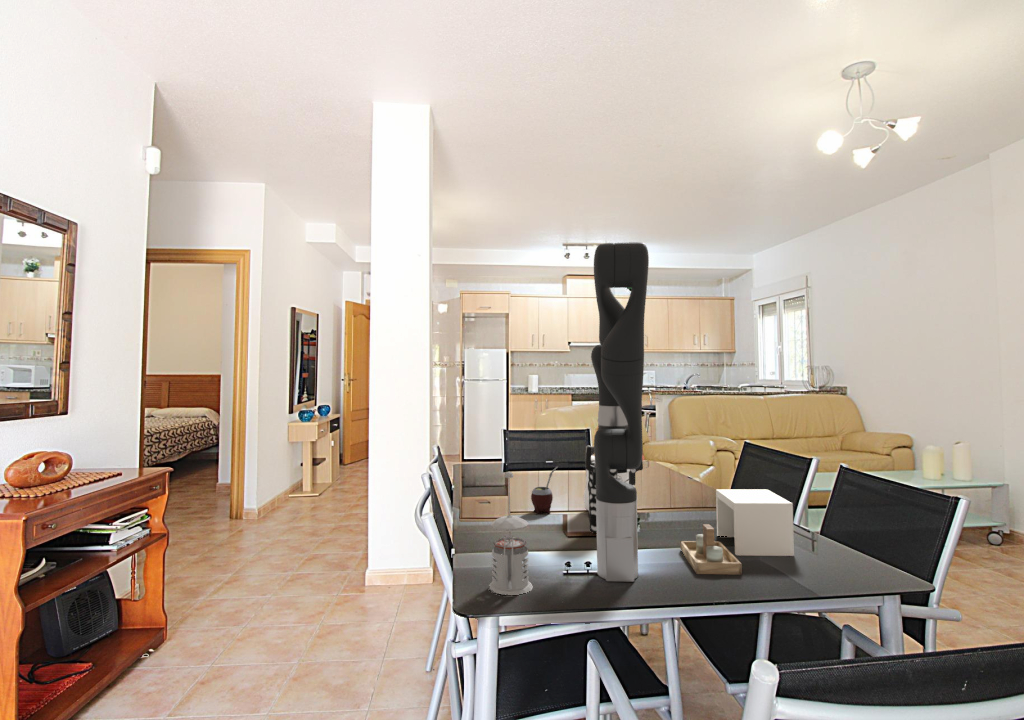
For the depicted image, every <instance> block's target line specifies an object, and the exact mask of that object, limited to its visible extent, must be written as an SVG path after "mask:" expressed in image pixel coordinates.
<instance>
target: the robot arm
mask: <svg viewBox="0 0 1024 720" xmlns="http://www.w3.org/2000/svg"><path fill="white" fill-rule="evenodd" d="M649 258H650V257H649V250H648V247H647V245H646V243H644V242H638V241H637V242H632V241H631V242H607V243H600V244H598V245H597V246H596V248H595V251H594V255H593V279H594V289H595V297H596V298H595V299H596V303H597V304H596V305H597V308H598V314H599V315H598V316H599V317H598V318H599V322H598V323H599V325H598V327H599V329H598V341H599V344H596V345H595V346H594V347H593V348H592V351H591V353H590V354H591V355H590V360H591V363H592V366H593V370H594V373H595V376H596V381H597V386H598V387H597V389H598V412H597V413H598V414H597V422H598V423H597V424H598V429H597V431H596V432H595V434H594V439H593V445H589V444H587V445H586V446H585V460H584V461H585V462H584V465H585V471H586V470H590V471H592V477H593V484H594V485H595V486H596V523H597V534H596V564H597V565H596V566H597V571H596V572H597V575H598V576H599V577H600V578H602V579H604V580H605V581H606V582H635V579H637V578H638V577H639V554H638V553H639V551H638V550H639V549H638V545H639V544H638V543H639V542H638V493H637V492H638V491H637V488H636V487H634V486H635V485H636V473H637V472H638V471H643V470H644V463H643V455H644V454H643V451H644V449H643V446H644V443H643V418H642V417H643V414H642V413H643V412H642V411H643V409H642V408H643V407H642V404H643V403H642V400H643V399H642V398H643V387H644V386H643V385H644V371H645V368H644V366H645V312H646V301H647V288H648V276H649V266H650V265H649V263H650V262H649ZM613 288H614V289H617V288H620V289H621V288H622V289H625V288H626V289H627V288H630V290H631V291H630V294H629V297H628V301H627V303H626V305H625V307H624V306H623V304H622V303H621V302H620V301H619V300H618V299H617V297H616V296H615V295H614V294H613V292H612V290H611V289H613ZM591 456H595V465H594V466H592V465H591ZM610 469H630V471H629V484H628V483H625V482H622V481H620V480H618V479H616V478H614V477H613V476H612V475H611V474H610V473H609V470H610ZM633 485H634V486H633Z"/></svg>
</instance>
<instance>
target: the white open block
mask: <svg viewBox="0 0 1024 720" xmlns="http://www.w3.org/2000/svg"><path fill="white" fill-rule="evenodd" d="M715 498H716V499H715V501H716V502H715V504H716V508H715V510H716V537H717V536H720V537H719V538H722V537H721V536H724V537H723V538H734V556H752V557H753V556H755V557H757V556H758V557H759V556H763V557H764V556H765V557H767V556H770V557H771V556H772V557H776V556H777V557H789V556H790V557H794V556H795V550H794V549H795V547H794V546H795V545H794V543H795V541H794V539H795V538H794V507H793V505H794V504H793V502H792V501H791V502H790V501H789V500H787V499H786V498H784V497H782V496H780V495H778V494H776V493H775V492H773V491H771V490H769V489H768V488H767V489H764V488H763V489H761V488H760V489H758V488H757V489H755V488H754V489H752V488H751V489H750V488H749V489H745V488H743V489H742V488H741V489H731V488H729V489H728V488H727V489H726V488H725V489H724V488H723V489H718V488H717V489H715ZM725 536H727V537H725Z"/></svg>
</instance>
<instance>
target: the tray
mask: <svg viewBox="0 0 1024 720" xmlns="http://www.w3.org/2000/svg"><path fill="white" fill-rule="evenodd" d="M679 543H680V545H679V546H680V548H679V549H681V550H682V552H683V554H684V555H683V554H682V555H683V557H684V556H685V557H684V558H685V559H686V561H687V562H688V564H689V565H690V566H691V568H692V569H693V571H694V572H695V573H696V575H740V576H741V575H743V574H742V572H743V571H742V570H743V569H742V568H743V566H742V562H741V561H739V559H738V558H737V557H736V555H735V554H733V553H732V552H731V551H730V550H729V549H728V548H727V547H726V545H724V544H723V543H722V541H715V528H714V527H713V526H712V525H710V524H708V523H707V524H706V523H705V524H702V533H701V534H699V533H698V534H695V540H692V541H691V540H688V541H687V540H681V541H679ZM682 552H681V553H682Z"/></svg>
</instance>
